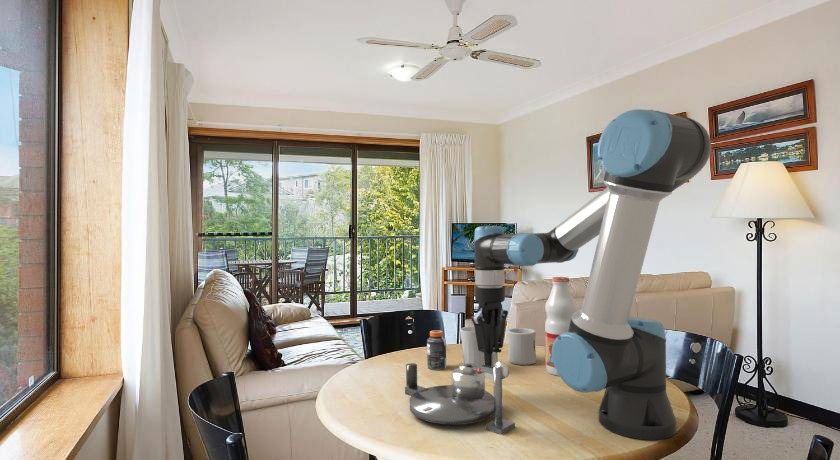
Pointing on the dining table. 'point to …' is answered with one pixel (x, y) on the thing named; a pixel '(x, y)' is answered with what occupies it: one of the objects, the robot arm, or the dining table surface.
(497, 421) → the indicator
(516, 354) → the mug
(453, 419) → the turntable
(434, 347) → the pill bottle
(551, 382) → the dining table surface
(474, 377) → the cover
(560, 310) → the fruit juice
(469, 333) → the cup
